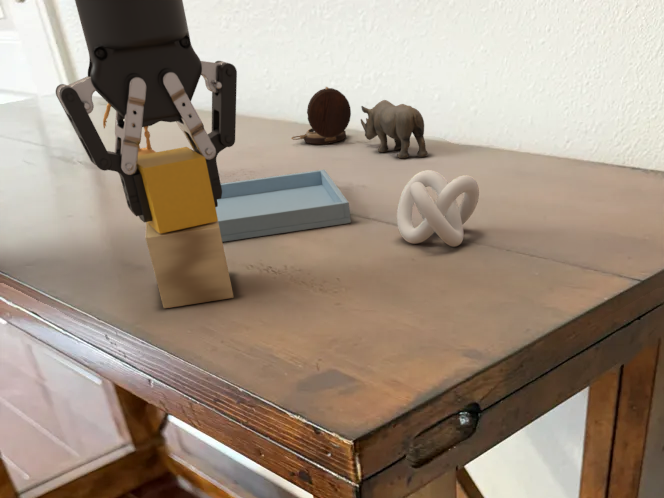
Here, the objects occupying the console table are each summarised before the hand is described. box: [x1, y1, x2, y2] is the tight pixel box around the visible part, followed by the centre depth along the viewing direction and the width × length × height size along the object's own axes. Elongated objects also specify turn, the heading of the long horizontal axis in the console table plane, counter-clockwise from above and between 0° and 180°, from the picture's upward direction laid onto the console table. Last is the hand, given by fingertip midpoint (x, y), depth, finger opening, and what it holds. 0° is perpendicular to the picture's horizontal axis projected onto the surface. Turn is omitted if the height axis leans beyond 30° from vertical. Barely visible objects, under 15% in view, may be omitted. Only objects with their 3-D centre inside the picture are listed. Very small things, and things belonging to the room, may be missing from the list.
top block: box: [137, 146, 218, 234], centre depth 67 cm, size 5×5×5 cm
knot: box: [396, 169, 480, 247], centre depth 77 cm, size 8×8×6 cm
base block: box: [145, 221, 235, 309], centre depth 70 cm, size 6×6×6 cm
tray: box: [215, 169, 352, 243], centre depth 89 cm, size 17×15×2 cm
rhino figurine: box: [360, 99, 429, 159], centre depth 108 cm, size 4×14×6 cm, turn 35°
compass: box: [291, 86, 352, 145], centre depth 115 cm, size 8×8×7 cm
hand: (178, 211), depth 68 cm, fingers closed on top block, 5 cm apart
